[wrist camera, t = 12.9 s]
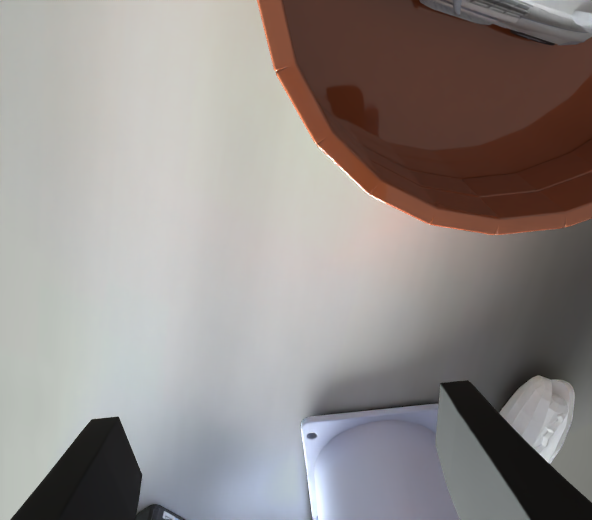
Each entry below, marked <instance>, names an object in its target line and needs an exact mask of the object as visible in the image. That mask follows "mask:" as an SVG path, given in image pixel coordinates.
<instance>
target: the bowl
mask: <svg viewBox="0 0 592 520" xmlns="http://www.w3.org/2000/svg"><path fill="white" fill-rule="evenodd" d="M257 2H258V6H259V11H260V15H261V19H262V23H263V27H264V31H265V35H266V39H267V43H268V47H269V51H270V55H271V59H272V63H273V67H274V70H275V71H276V75H277V77H278V79H279V80H280V82H281V84H282V86H283V88H284V89H285V91H286V93H287V95H288V96H289V98H290V100H291V102H292V104H293V105H294V107H295V109H296V111H297V112H298V114H299V116H300V118H301V120H302V121H303V123H304V125H305V127H306V128H307V130H308V132H309V134H310V136H311V137H312V139H313V141H314V143H316V144H317V146H318V147H319V148H320V149H321V150H322V151H323V152H324V153H325V154H326V155H327V156H328V157H329V158H330V159H331V160H332V161H333V162H334V163H335V164H336V165H337V166H338V167H339V168H341V169H342V170H343V171H344V172H345V173H346V174H347V175H348V176H349V177H350V178H351V179H352V180H353V181H354V182H355V183H356V184H357V185H358V186H359V187H360V188H361V189H363V190H364V191H365V192H366V193H367V194H369V195H370V196H371V197H373V198H376V199H378V200H380V201H382V202H384V203H386V204H388V205H390V206H392V207H394V208H396V209H398V210H400V211H402V212H404V213H406V214H408V215H410V216H412V217H414V218H416V219H418V220H420V221H422V222H425V223H427V224H430V225H434V226H441V227H447V228H453V229H459V230H465V231H472V232H478V233H484V234H490V235H502V234H512V233H522V232H531V231H541V230H550V229H560V228H564V227H569V226H572V225H575V224H578V223H581V222H583V221H586V220H589V219H592V37H591V38H589V39H587V40H586V41H585V42H581V43H579V44H576V45H558V44H555V45H547V44H543V43H539V42H536V41H532V40H529V39H526V38H523V37H520V36H518V35H515V34H513V33H511V32H510V30H511V29H508V28H503V27H500V26H498V25H495V24H491V25H484V24H478V23H474V22H471V21H467V20H464V19H461V18H458V17H455V16H452V15H449V14H446V13H443V12H440V11H437V10H434V9H431V8H429V7H427V6H426V5H424V4H422V3H421V2H420V0H257Z"/></svg>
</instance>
